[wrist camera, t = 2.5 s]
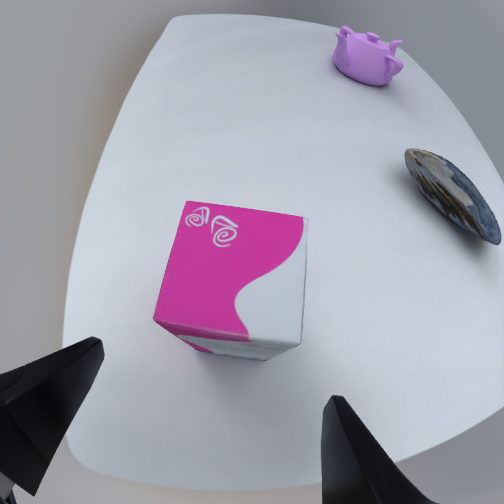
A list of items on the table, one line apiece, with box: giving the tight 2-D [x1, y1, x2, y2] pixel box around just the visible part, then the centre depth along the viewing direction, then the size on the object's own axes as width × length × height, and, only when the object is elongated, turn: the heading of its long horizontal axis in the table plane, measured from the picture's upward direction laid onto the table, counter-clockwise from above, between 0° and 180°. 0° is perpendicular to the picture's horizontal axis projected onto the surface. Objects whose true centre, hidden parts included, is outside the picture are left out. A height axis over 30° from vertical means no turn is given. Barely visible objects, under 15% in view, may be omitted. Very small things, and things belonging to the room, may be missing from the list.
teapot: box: [333, 26, 403, 86], centre depth 35 cm, size 12×14×9 cm
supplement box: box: [153, 201, 308, 361], centre depth 16 cm, size 6×6×12 cm
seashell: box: [405, 148, 501, 245], centre depth 25 cm, size 15×12×5 cm
